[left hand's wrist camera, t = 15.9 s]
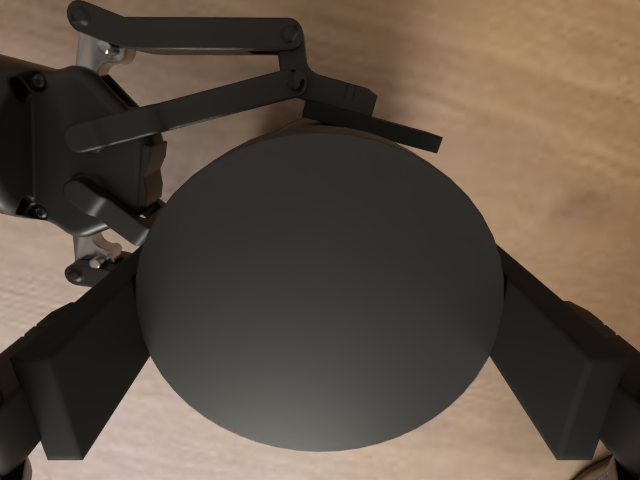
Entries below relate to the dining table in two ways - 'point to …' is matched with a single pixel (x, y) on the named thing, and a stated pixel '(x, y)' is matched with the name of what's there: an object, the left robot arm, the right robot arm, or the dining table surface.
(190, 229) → the lid
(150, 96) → the dining table surface
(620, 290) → the dining table surface
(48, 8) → the dining table surface
